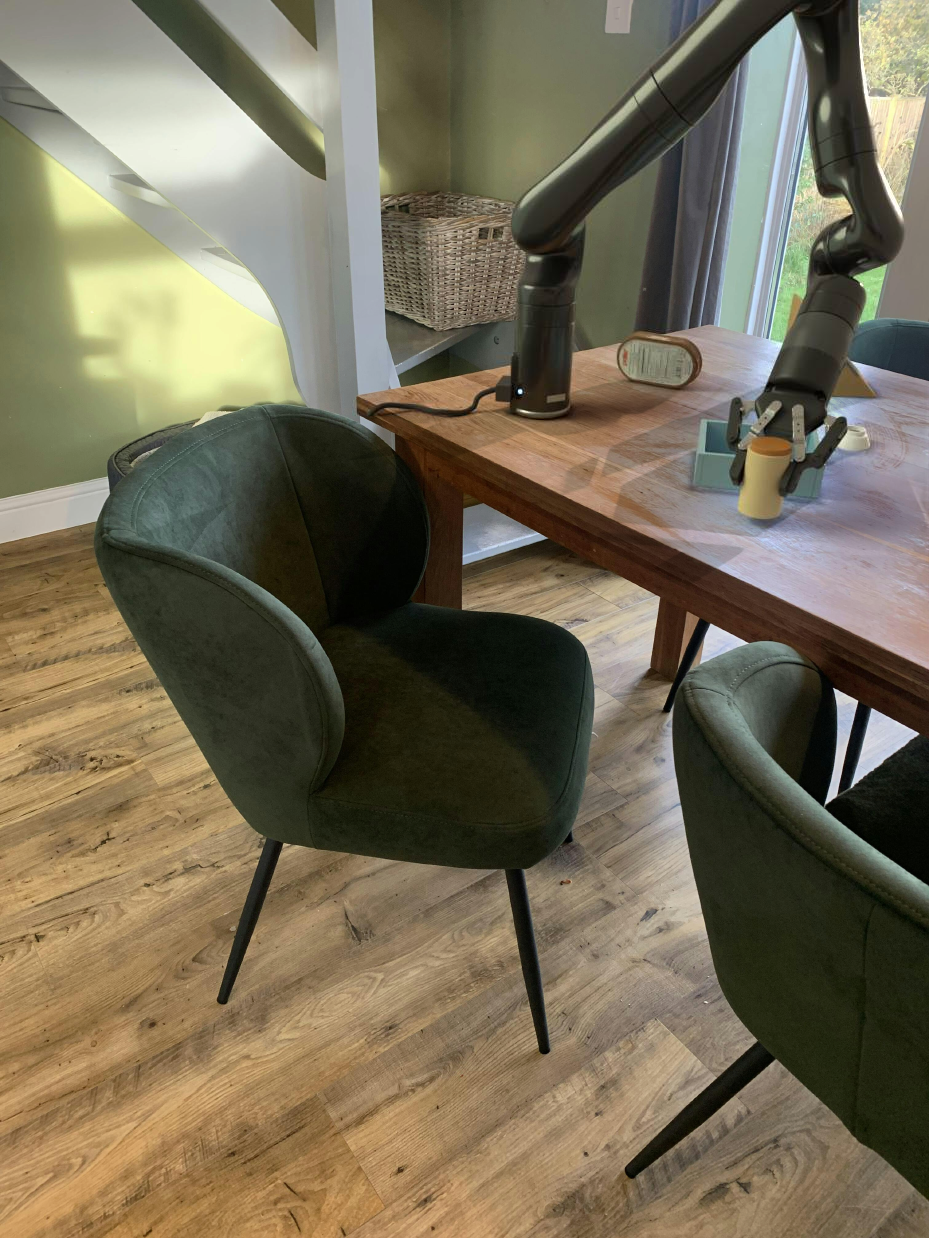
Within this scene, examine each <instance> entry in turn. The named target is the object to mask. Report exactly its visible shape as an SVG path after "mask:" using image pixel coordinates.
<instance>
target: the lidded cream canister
mask: <svg viewBox="0 0 929 1238" xmlns="http://www.w3.org/2000/svg"><path fill="white" fill-rule="evenodd" d="M792 454H793V451H792V444H791V443H790V442H789V441H787V440H784V439H781V438H777V437H757V438H754V439H752V440H751V443H750V445H749V446H748V450H747V456H746V461H745V467H744V473H743V479H742V484H741V490H740V491H739V495H738V502H737V508H736V509H737V511H738V512H739V513H740V514H742V515H744V516H746V517H748V518H751V519H758V520H770V519H775V518H777V517H779V516H780V515H781V514H782V513H781V512H782V507H783V502H784V498H785V497H781V496H780V494H779V488H780V485H781V482H782V480H783V477H784V475H785V472H786V470H787V467H788V465H789V463H790V461H791V459H792Z"/></svg>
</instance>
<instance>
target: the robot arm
mask: <svg viewBox="0 0 929 1238" xmlns="http://www.w3.org/2000/svg"><path fill="white" fill-rule="evenodd" d="M790 14H792V17H793V20H794V23H795V25H796V28H797V31H798V35H799V38H800V41H801V44H802V49H803V54H804V60H805V66H806V68H805V69H806V77H807V103H806V104H807V105H806V106H807V110H806V111H807V112H806V113H807V115H806V117H807V118H806V119H807V134H808V142H809V149H810V154H811V161H812V167H813V172H814V181H815V185H816V188H817V192H818V194H819V195H820V196H821V198H823V199H827V200H834V199H841V198H845V199H846V201H847V203H848V205H849V206H850V208H851V213H850V214H848V215H846V216H843V217H841V218H839V219H837V220H834V221H833V222H830V223H829V224H828V225H826V226H825V227H823V228H822V230H821V231H820V232H819V234H818V235H817V236H816V238H815V239H814V241H813V243H812V246H811V248H810V251H809V258H808V260H809V261H808V266H807V276H806V287H805V288H806V290H805V294H804V297H803V298H802V299H803V301H802V304H801V306H800V308H799V311H798V313H797V316H796V318H795V321H794V323H793V325H792V326H791V328H790V330H789V331H788V333H787V335H786V334H785V336H786V337H784V339H783V342H782V345H781V347H780V349H779V352H778V354H777V356H776V358H775V361H774V364H773V367H772V369H771V371H770V374H769V376H768V379H767V381H766V384H765V386H764V389H763V391H762V393H761V394H760V395H759V396H758V397H757V398H756V399H754V400H742V399H741V397H738V396H735V397H733V398H732V399H731V401H730V407H729V413H728V420H727V421H728V427H727V433H726V440H727V444H728V447H729V449H730V450H731V451H735V452H736V455H735V458H734V460H733V463H732V465H731V468H730V470H729V475H730V478H731V480H732V483H733V485H735V486H740V485H741V482H742V479H743V473H744V467H745V461H746V456H747V450H748V446H749V445H750V443H751V440H752V439H754V438H757V437H777V438H781V439H784V440H787V441H789V442H790V443H794V459H793V461H790V463H789V465H788V467H787V470H786V472H785V475H784V477H783V480H782V482H781V485H780V488H779V494H780V496H781V497H784V498H787V497H789V496H788V493H790V494H792V493H793V492H794V491H795V490H796V487H797V485H798V482H799V480H800V477H801V475H802V472H803V471H804V470H805V469H807V468H813V467H814V468H815V469H821V468H822V467H823V466H824V465H826V464H827V462H828V460H829V459H830V458H831V456H832V455H833V453H834V452H835V451H836V449H837V448H838V447H837V446H838V445H839V443H840V442H841V440H842V439H843V438H844V436H845V435H846V433H847V431H848V430H847V428H848V427H847V426H848V419H847V417H846V416H843V415H840V416H838V417H836V416H834V415H831V414H829V413H828V406H829V405H830V401H831V399H832V397H833V396H832V394H833V391H834V389H835V386H836V384H837V381H838V379H839V376H840V374H841V371H842V370H843V368H844V366H845V364H846V359H847V357H848V356H849V353H850V351H851V350H850V349H851V346H852V342H853V338H854V335H855V333H856V330H857V328H858V325H859V322H860V321H861V318H862V315H863V312H864V310H865V306H866V302H867V292H866V291H867V290H866V288H865V286H864V284H862V283H861V282H860V281H859V280H858V279H856V278H854V277H856V276H858V275H861V274H864V273H866V272H869V271H872V270H875V269H878V268H881V267H883V266H886V265H888V264H890V263H891V262H892V261H893V262H894V260H896V258H898V256H899V254H900V253H901V251H902V249H903V246H904V243H905V239H906V222H905V218H904V215H903V212H902V210H901V208H900V206H899V204H898V201H897V200H896V197H895V195H894V193H893V191H892V189H891V187H890V184H889V181H888V179H887V178H886V176H885V173H884V171H883V170H882V167H881V165H880V159H879V153H878V146H877V145H878V144H877V139H876V132H875V127H874V126H875V125H874V119H873V114H872V109H871V108H872V107H871V102H870V97H869V91H868V85H867V80H866V74H865V67H864V61H863V52H862V41H861V22H860V21H861V20H860V0H714V2H713V3H711V4H710V6H709V7H707V9H705V10H704V11H703V12H702V13H701V15H699V16H698V17H697V18H696V19H695V20H694V21H693V22H692V23H691V24H690V25H689V26H688V27H687V28H686V30H685V31H684V32H683V33H682V34H680V36H679V37H678V38H676V40H675V41H674V42H673V43H672V44H671V45H670V46H669V47H668V48H667V49H666V50H665V51H664V52H663V53H662V54H661V55H660V56H658V58H657V59H656V60H654V61H653V62H652V64H651V65H650V66H649V67H647V68H646V69H645V70H644V72H643V73H642V74H641V75H640V76H639V77H638V78H637V79H636V80H635V81H634V82H632V84H631V85H630V86H629V87H628V88H627V89H626V91H624V93H623V94H622V95H621V96H620V97H619V99H617V101H616V102H614V104H613V105H612V106H611V107H610V108H609V109H608V110H607V112H606V113H605V114H604V115H603V116H602V117H601V118H600V120H599V121H598V122H597V123H596V124H595V125H594V126H593V128H592V129H591V130H590V131H589V133H588V134H587V135H586V136H585V137H584V138H583V140H581V142H580V143H579V144H578V145H577V147H575V148H574V150H573V151H571V153H570V154H568V156H566V157H565V158H564V159H563V160H562V161H561V162H560V163H558V164H557V165H556V166H555V167H554V168H552V169H551V170H550V171H549V172H548V173H547V174H546V175H544V176H543V177H542V178H541V179H539V180H538V181H537V182H535V183H534V184H533V185H531V187H529V188H528V189H527V190H526V191H524V192H523V193H522V194H521V195H520V197H518V199H517V200H516V202H515V204H514V207H513V209H512V211H511V215H510V221H509V222H510V224H509V225H510V234H511V238H512V240H513V242H514V244H516V247H518V248H519V249H520V250H521V251H523V252H524V253H525V258H524V264H523V266H522V267H523V268H522V270H521V273H520V275H519V277H518V279H517V281H516V284H515V314H514V315H515V317H514V320H515V321H514V344H513V345H514V346H513V347H514V348H513V349H514V350H513V351H512V352H511V355H510V374H509V375H506V374H505V375H502V376H501V377H500V379H499V380H498V382H497V383H496V384H495V386H492V387H489V388H485V389H484V390H482V391H480V392H478V393H477V394H476V395H475V396H474V398H473V401H472V404H471V405H470V406H468V407H466V408H464V409H444V408H434V407H429V406H425V405H421V404H416V403H403V402H393V401H387V402H382V403H379V404H377V405H375V406H374V407H372V408H371V409H370V410H369V411H368V412H367V413H366V417H373V416H374V415H375V414H376V413H378V412H380V411H382V410H384V409H398V410H413V411H419V412H422V413H427V414H428V415H429V414H430V415H435V416H452V417H459V416H465V415H468V414H470V413H473V412H475V410H476V409H477V408H478V406H479V403H480V400H481V399H482V398H484V397H485V396H488V395H492V394H494V396H495V397H494V398H495V399H494V401H495V402H497V403H498V402H500V403H509V408H508V409H509V410H508V411H509V414H515V415H518V416H521V417H525V418H529V419H539V420H540V419H541V420H542V419H543V420H546V419H556V418H560V417H563V416H566V415H568V413H569V412H570V411H571V388H572V386H571V385H572V374H573V373H572V372H573V357H574V344H575V343H574V341H575V330H576V329H575V327H576V312H577V296H578V289H579V285H580V282H581V280H582V276H583V268H584V259H585V248H586V237H587V222H588V221H587V220H588V215H589V214H590V213H591V212H592V211H593V210H594V208H596V206H597V205H598V204H600V202H602V200H604V199H605V198H606V197H607V196H608V195H609V194H610V193H612V192H613V191H615V190H616V189H617V188H618V187H620V186H621V185H622V184H624V183H626V182H627V181H629V180H630V179H632V178H633V177H635V176H636V175H638V174H639V173H640V172H642V171H643V170H645V169H646V168H647V167H649V166H651V164H653V163H654V162H656V161H657V160H658V159H660V157H662V156H663V155H665V154H666V153H667V152H668V151H669V150H670V149H671V148H673V147H674V146H675V145H676V144H677V143H678V142H679V141H680V140H682V138H684V136H686V135H687V134H688V133H689V132H690V131H691V130H692V129H693V128H694V127H696V126H697V125H698V124H699V123H700V121H701V120H702V119H704V117H705V116H707V114H708V113H709V111H710V110H711V109H712V108H713V106H714V105H715V103H716V102H717V101H718V100H719V98H720V96H721V95H722V93H723V91H724V90H725V88H726V86H728V85H727V84H728V83H729V81H730V80H731V78H732V77H733V75H734V73H735V72H736V70H737V69H738V67H739V65H740V64H741V62H742V61H743V60H744V59H745V57H746V56H747V55H748V53H749V52H750V51H751V50H752V49H753V48H754V46H756V44H757V43H758V42H759V41H761V39H762V38H764V37H765V36H766V35H767V34H768V33H770V31H771V30H772V29H773V28H774V27H776V26H777V25H778V24H779V23H781V21H783V20H784V19H785V18H786V17H788V15H790ZM753 412H754V413H755V414H756V418H757V420H756V421H755V422H754V425H753V426H752V427H751V428H750V431H749V433H748V434H747V435H746V436H745V437H744V438H743V439H740V436H741V429H742V423H744V421H746V420H747V419H748V418H749V417H750V415H751V413H753ZM822 426H824V436H822V438H821V439H820V443H819V444H818V446H817V447H816V449H815V450H814V451H813V453H806V436H807V435H809V434H810V433H812V432H813V431H815V430H816V429H817V430H818V429H819V428H821V427H822Z"/></svg>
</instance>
